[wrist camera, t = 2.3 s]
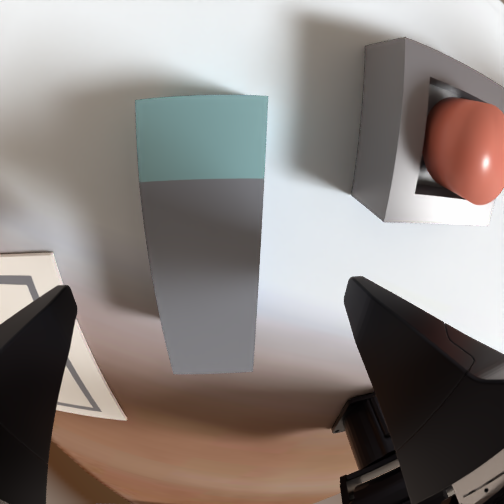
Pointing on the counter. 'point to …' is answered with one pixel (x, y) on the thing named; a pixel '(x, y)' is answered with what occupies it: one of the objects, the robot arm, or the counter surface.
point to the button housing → (412, 132)
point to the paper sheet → (80, 357)
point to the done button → (466, 148)
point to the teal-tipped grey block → (204, 223)
